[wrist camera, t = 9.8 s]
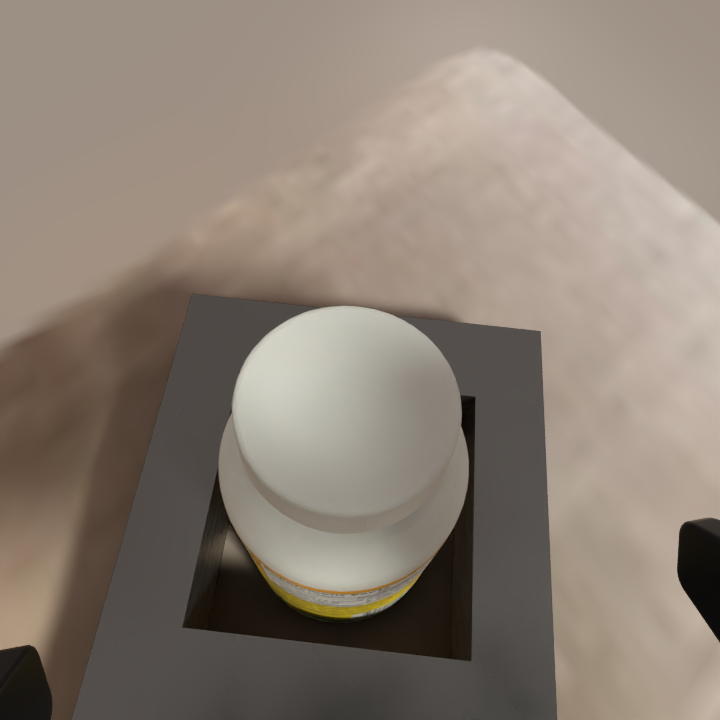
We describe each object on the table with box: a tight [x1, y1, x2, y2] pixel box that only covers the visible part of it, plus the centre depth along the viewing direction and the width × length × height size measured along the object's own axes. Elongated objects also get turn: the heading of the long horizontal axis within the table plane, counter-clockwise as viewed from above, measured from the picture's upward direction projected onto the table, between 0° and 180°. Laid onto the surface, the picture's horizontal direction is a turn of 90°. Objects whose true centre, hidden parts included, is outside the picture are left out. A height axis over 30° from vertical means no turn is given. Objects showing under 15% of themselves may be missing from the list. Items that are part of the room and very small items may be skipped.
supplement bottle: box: [219, 306, 469, 623], centre depth 15 cm, size 5×5×10 cm
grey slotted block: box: [72, 294, 557, 720], centre depth 16 cm, size 20×11×3 cm, turn 174°
